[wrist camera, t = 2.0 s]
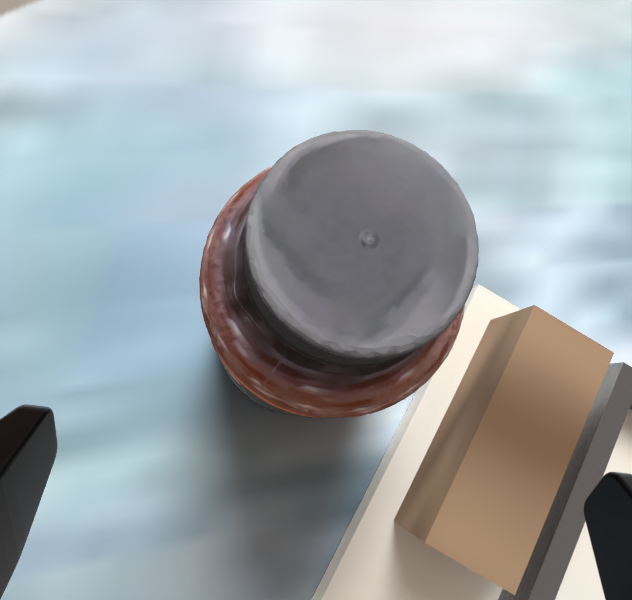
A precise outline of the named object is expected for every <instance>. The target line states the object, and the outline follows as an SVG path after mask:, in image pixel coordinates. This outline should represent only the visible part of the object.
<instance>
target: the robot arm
mask: <svg viewBox="0 0 632 600" xmlns="http://www.w3.org/2000/svg"><path fill="white" fill-rule="evenodd" d="M56 453H57V437H56V429H55V421H54V414H53V411H52V409H51V408H49V407H44V406H36V405H21V406H19V407H17V408H16V409H14V410H13V411H11V412H10V413H8V414H7V415H6V416H4V417H3V418H1V419H0V599H1V597H2V595H3V593H4V591H5V589H6V587H7V585H8V582H9V580H10V578H11V576H12V574H13V572H14V570H15V567H16V565H17V563H18V561H19V558H20V556H21V553H22V550H23V548H24V545H25V542H26V540H27V537H28V534H29V531H30V528H31V526H32V523H33V520H34V517H35V514H36V511H37V509H38V506H39V503H40V500H41V497H42V495H43V492H44V489H45V486H46V483H47V480H48V478H49V475H50V472H51V469H52V466H53V463H54V461H55V457H56ZM584 517H585V521H586V525H587V529H588V533H589V537H590V541H591V545H592V549H593V553H594V557H595V561H596V565H597V569H598V573H599V577H600V581H601V585H602V589H603V592H604V596H605V600H632V474H628V473H620V472H609V473H606V474H605V475H604V476H603V477H602V479H601V480H600V481H599V482H598V484H597V485H596V486H595V488H594V489H593V490H592V492H591V493H590V494H589V496H588V497H587V498H586V500H585V503H584Z"/></svg>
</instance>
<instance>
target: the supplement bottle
mask: <svg viewBox="0 0 632 600" xmlns="http://www.w3.org/2000/svg"><path fill="white" fill-rule="evenodd" d="M478 251H479V249H478V235H477V232H476V225H475V220H474V216H473V213H472V210H471V208H470V206H469V204H468V202H467V200H466V198H465V196H464V194H463V193H462V191H461V189H460V187H459V185H458V183H457V182H456V181H455V180H454V179H453V178H452V177H451V176H450V174H449V173H448V172H447V171H446V170H445V169H444V168H443V166H442V165H441V164H440V163H439V162H437V161H436V160H435V159H434V158H432V157H431V156H430V155H429V154H428V153H426V152H425V151H423V150H421V149H419V148H418V147H416V146H415V145H413V144H411V143H409V142H406V141H404V140H402V139H399V138H396V137H394V136H391V135H388V134H384V133H380V132H374V131H366V130H351V131H342V132H331V133H327V134H323V135H320V136H317V137H314V138H311V139H309V140H307V141H305V142H303V143H301V144H299V145H297V146H295V147H293V148H292V149H291V150H290V151H288V152H287V153H286V154H285V155H284V156H283V157H281V158H280V159H279V160H278V161H277V162H276V163H275V165H274V166H272V167H269V168H267V169H266V170H264V171H262V172H261V173H259V174H258V175H257V176H255V177H254V178H253V179H251V180H250V181H249V182H247V183H246V184H245V185H244V186H242V187H241V188H240V189H239V190H238V191H237V192H236V193H235V194H234V195H233V196H232V197H231V198H230V199H229V201H228V202H227V203H226V205H225V206H224V207H223V209H222V211H221V212H220V214H219V215H218V216H217V218H216V220H215V222H214V225H213V227H212V228H211V230H210V232H209V235H208V237H207V241H206V245H205V247H204V251H203V257H202V261H201V269H200V278H199V281H200V300H201V308H202V313H203V317H204V321H205V324H206V327H207V330H208V333H209V335H210V338H211V341H212V344H213V346H214V349H215V350H216V352H217V354H218V356H219V358H220V360H221V362H222V364H223V366H224V368H225V370H226V372H227V374H228V375H229V377H230V379H231V380H232V381H233V382H234V384H235V385H236V386H237V387H238V389H239V390H241V391H242V392H243V393H244V394H245V395H246V396H247V397H249V398H250V399H251V400H252V401H254V402H255V403H257V404H259V405H261V406H263V407H265V408H267V409H269V410H272V411H275V412H279V413H283V414H289V415H297V416H305V417H316V418H320V417H327V418H340V417H356V416H361V415H366V414H371V413H374V412H377V411H380V410H383V409H385V408H388V407H390V406H392V405H394V404H396V403H398V402H400V401H401V400H403V399H405V398H406V397H408V396H409V395H411V394H412V393H414V392H415V391H416V390H418V389H419V388H420V387H421V386H423V385H424V384H425V383H426V382H427V381H428V380H429V379H430V378H431V377H432V376H433V375H434V373H435V372H436V371H437V370H438V369H439V367H440V366H441V365H442V363H443V362H444V360H445V359H446V358H447V357H448V355H449V353H450V351H451V349H452V347H453V345H454V342H455V340H456V338H457V335H458V333H459V330H460V326H461V322H462V320H463V316H464V309H465V303H466V301H467V299H468V297H469V294H470V292H471V290H472V287H473V283H474V280H475V278H476V271H477V267H478Z"/></svg>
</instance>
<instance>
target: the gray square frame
mask: <svg viewBox="0 0 632 600" xmlns="http://www.w3.org/2000/svg"><path fill="white" fill-rule="evenodd" d="M629 409H630V410H632V367H630V366H629V365H627V364H625V363H624V362H623V363H614V364H609V366H608V368H607V371H606V373H605V376H604V378H603V381H602V383H601V386H600V388H599V390H598V393H597V395H596V398H595V400H594V403H593V405H592V408H591V410H590V412H589V415H588V417H587V420H586V422H585V425H584V427H583V430H582V432H581V434H580V437H579V439H578V442H577V444H576V447H575V449H574V452H573V454H572V457H571V459H570V461H569V464H568V466H567V469H566V471H565V474H564V476H563V479H562V481H561V483H560V486H559V488H558V491H557V493H556V496H555V498H554V501H553V503H552V506H551V508H550V510H549V513H548V515H547V518H546V520H545V523H544V525H543V528H542V530H541V532H540V535H539V537H538V540H537V542H536V545H535V547H534V550H533V552H532V555H531V557H530V559H529V562H528V564H527V567H526V569H525V572H524V574H523V577H522V579H521V581H520V584H519V586H518V589H517V591H516V594H515V595H513V594H511V593H510V592H508V591H506V590H505V589H502V591H501V594H500V596H499V598H498V600H555V598H556V596H557V593H558V591H559V588H560V586H561V583H562V580H563V578H564V575H565V573H566V570H567V568H568V565H569V562H570V560H571V557H572V555H573V552H574V550H575V547H576V544H577V542H578V539H579V537H580V534H581V532H582V529H583V526H584V524H585V517H584V503H585V500H586V498H587V497H588V496H589V494H590V493H591V492H592V490H593V489H594V488H595V486H596V485H597V484H598V482H599V481H600V480H601V479H602V477H603V475H604V472H605V470H606V467H607V465H608V462H609V459H610V457H611V454H612V452H613V449H614V447H615V444H616V441H617V439H618V436H619V434H620V431H621V429H622V426H623V423H624V421H625V418H626V416H627V413H628V410H629Z"/></svg>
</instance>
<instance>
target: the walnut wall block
mask: <svg viewBox="0 0 632 600" xmlns="http://www.w3.org/2000/svg"><path fill="white" fill-rule="evenodd" d="M613 354H614V353H613V352H612V351H610V350H608V349H607V348H605V347H603V346H602V345H600V344H598V343H597V342H595V341H593V340H592V339H590V338H588V337H587V336H585V335H583V334H582V333H580V332H578V331H577V330H575V329H573V328H572V327H570V326H568V325H567V324H565V323H563V322H562V321H560V320H558V319H557V318H555V317H553V316H552V315H550V314H548V313H547V312H545V311H543V310H542V309H540V308H539V307H537V306H535V305H534V306H531V307H528V308H525V309H522V310H519V311H516V312H513V313H510V314H507V315H504V316H501V317H498V318H495V319H492V320H490V322H489V324H488V326H487V328H486V330H485V332H484V334H483V337H482V339H481V341H480V343H479V345H478V347H477V349H476V351H475V353H474V355H473V357H472V359H471V361H470V363H469V365H468V368H467V370H466V372H465V374H464V376H463V378H462V380H461V382H460V384H459V386H458V388H457V390H456V392H455V394H454V397H453V399H452V401H451V403H450V405H449V407H448V409H447V411H446V413H445V415H444V417H443V419H442V421H441V423H440V425H439V428H438V430H437V432H436V434H435V436H434V438H433V440H432V442H431V444H430V446H429V448H428V450H427V452H426V454H425V456H424V459H423V461H422V463H421V465H420V467H419V469H418V471H417V473H416V475H415V477H414V479H413V481H412V483H411V485H410V488H409V490H408V492H407V494H406V496H405V498H404V500H403V502H402V504H401V506H400V508H399V510H398V512H397V514H396V516H395V519H394V520H395V521H396V522H397V523H399V524H400V525H401V526H403V527H404V528H405V529H407V530H408V531H409V532H411V533H412V534H414V535H415V536H416V537H418V538H419V539H420V540H422V541H423V542H424V543H426V544H428V545H429V546H431V547H433V548H434V549H436V550H438V551H440V552H441V553H443V554H445V555H446V556H448V557H450V558H452V559H453V560H455V561H457V562H458V563H460V564H462V565H464V566H465V567H467V568H469V569H470V570H472V571H474V572H476V573H477V574H479V575H481V576H482V577H484V578H486V579H487V580H489V581H491V582H493V583H494V584H496V585H498V586H499V587H501V588H503V589H505V590H506V591H508V592H510V593H511V594H513V595H515V594H516V591H517V589H518V586H519V584H520V581H521V579H522V577H523V574H524V572H525V569H526V567H527V564H528V562H529V559H530V557H531V555H532V552H533V550H534V547H535V545H536V542H537V540H538V537H539V535H540V532H541V530H542V528H543V525H544V523H545V520H546V518H547V515H548V513H549V510H550V508H551V506H552V503H553V501H554V498H555V496H556V493H557V491H558V488H559V486H560V483H561V481H562V479H563V476H564V474H565V471H566V469H567V466H568V464H569V461H570V459H571V457H572V454H573V452H574V449H575V447H576V444H577V442H578V439H579V437H580V434H581V432H582V430H583V427H584V425H585V422H586V420H587V417H588V415H589V412H590V410H591V408H592V405H593V403H594V400H595V398H596V395H597V393H598V390H599V388H600V386H601V383H602V381H603V378H604V376H605V373H606V371H607V368H608V366H609V363H610V361H611V359H612V356H613Z"/></svg>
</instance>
